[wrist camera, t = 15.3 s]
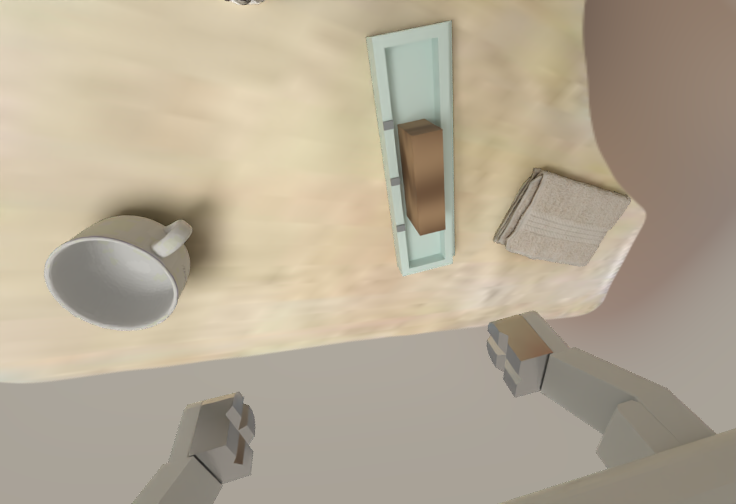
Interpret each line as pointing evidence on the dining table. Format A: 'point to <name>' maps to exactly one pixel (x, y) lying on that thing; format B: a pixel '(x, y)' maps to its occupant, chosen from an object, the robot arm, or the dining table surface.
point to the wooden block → (423, 174)
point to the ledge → (406, 104)
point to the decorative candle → (246, 2)
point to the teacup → (121, 272)
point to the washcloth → (559, 219)
